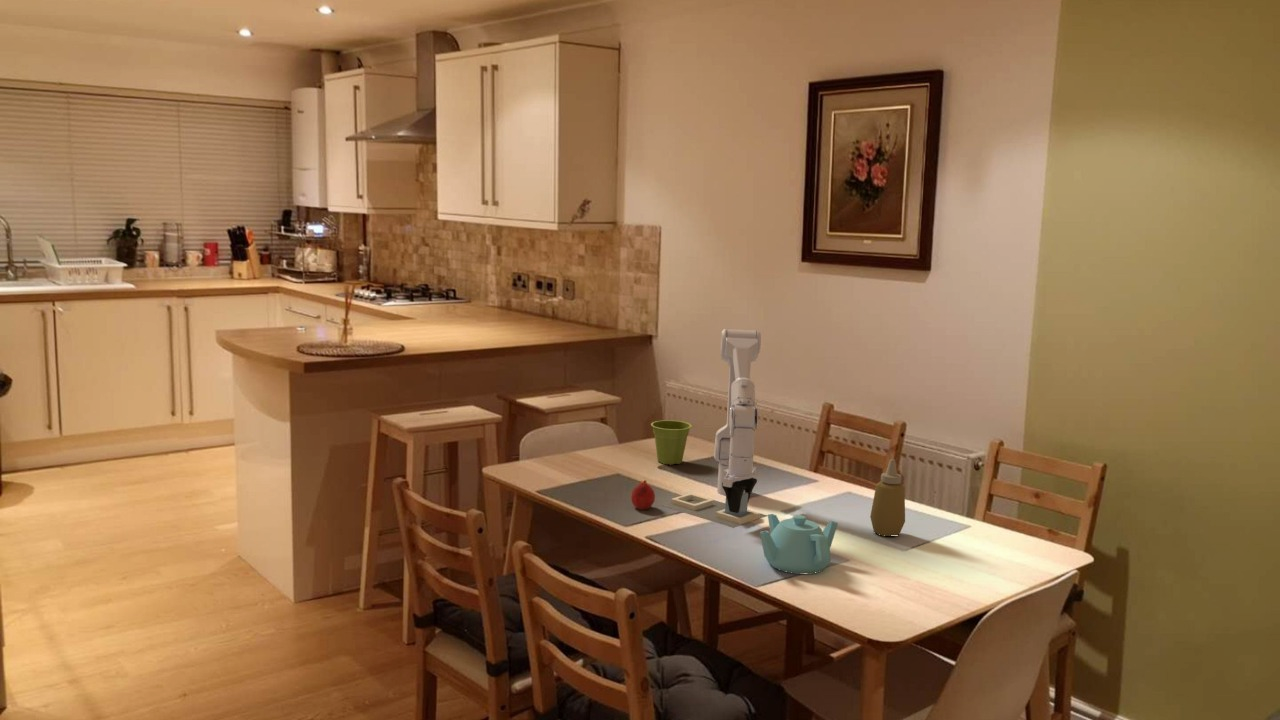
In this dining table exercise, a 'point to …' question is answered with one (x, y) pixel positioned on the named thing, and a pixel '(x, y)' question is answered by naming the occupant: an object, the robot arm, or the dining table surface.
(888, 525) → the squeeze bottle
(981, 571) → the dining table surface
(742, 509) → the plug
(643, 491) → the red pomegranate
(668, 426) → the plant pot
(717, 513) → the panel
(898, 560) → the dining table surface
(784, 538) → the teapot
